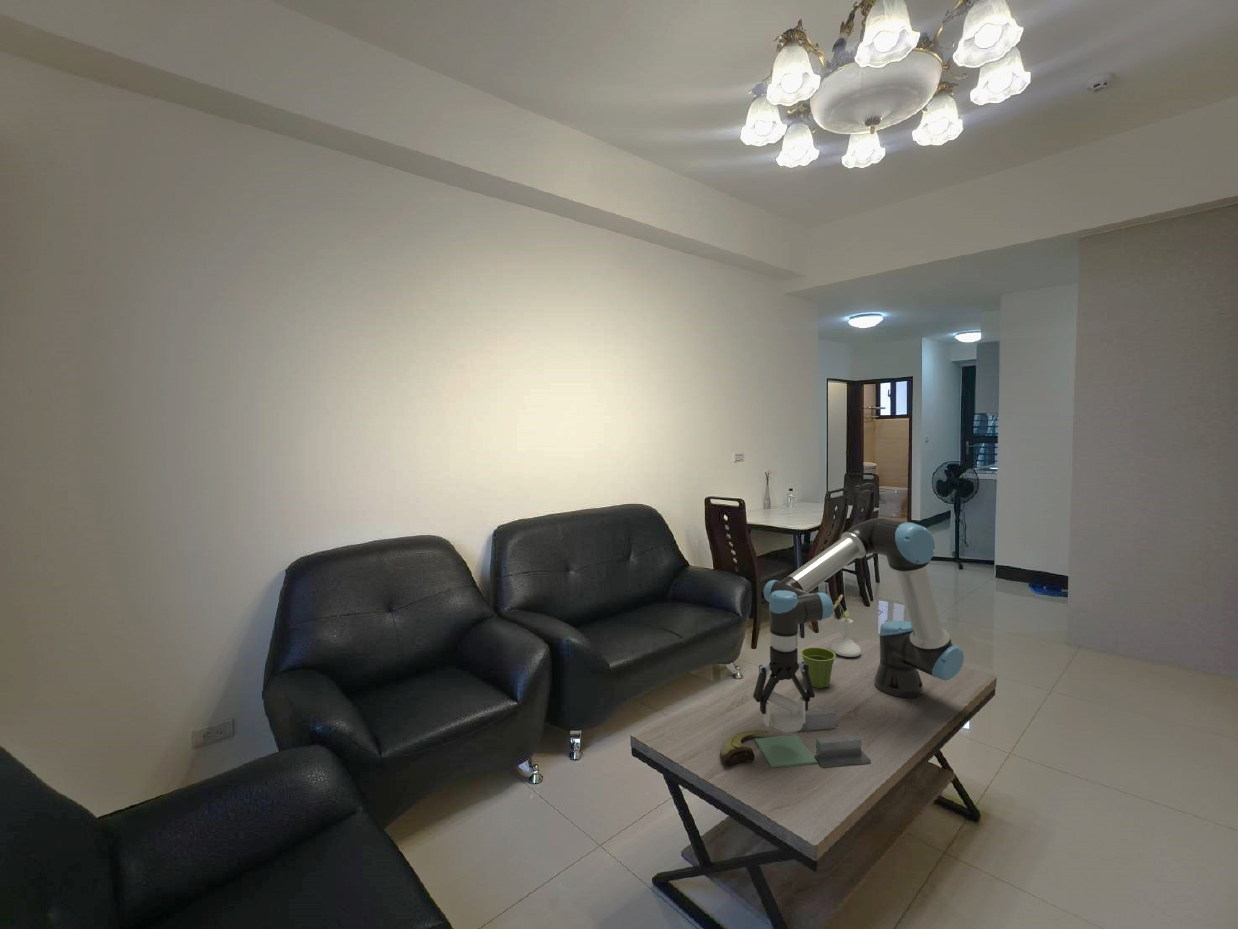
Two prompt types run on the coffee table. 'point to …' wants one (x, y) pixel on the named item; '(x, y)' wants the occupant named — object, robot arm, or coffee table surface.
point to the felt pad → (785, 751)
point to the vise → (833, 741)
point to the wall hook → (785, 713)
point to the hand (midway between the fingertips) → (784, 722)
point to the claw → (738, 748)
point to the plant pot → (819, 665)
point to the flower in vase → (845, 636)
